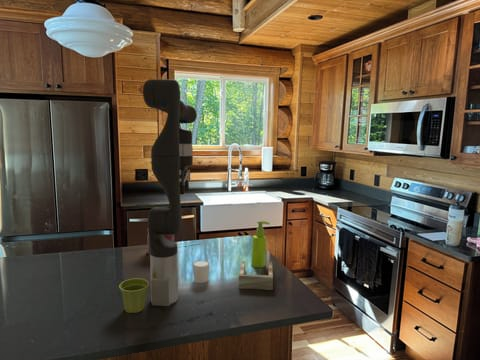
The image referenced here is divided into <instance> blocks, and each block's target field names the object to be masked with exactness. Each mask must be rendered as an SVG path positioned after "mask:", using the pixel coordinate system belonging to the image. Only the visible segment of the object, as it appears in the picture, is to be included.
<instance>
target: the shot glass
mask: <svg viewBox="0 0 480 360" xmlns="http://www.w3.org/2000/svg"><path fill="white" fill-rule="evenodd" d="M210 264H211V263H210V261H208V260H197V261H193V263H192V270H193V271H192V272H193V280H194V283H198V284H204V283H207V282H208V281H209V277H210V275H209V274H210Z"/></svg>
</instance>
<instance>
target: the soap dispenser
mask: <svg viewBox="0 0 480 360" xmlns="http://www.w3.org/2000/svg"><path fill="white" fill-rule="evenodd" d="M256 223H257V224H258V227H257V228H256V231H255V235H253V236H252V248H251V249H252V250H251V251H252V252H251V263H250V264H251V266H252V267H254V268H264V267H265V263H266V251H267V250H266V247H267V236H265V228H263V225H264V224H265V225H270V222H268V221H266V220H265V221H264V220H260V221H259V220H258V221H257V222H256Z"/></svg>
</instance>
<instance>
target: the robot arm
mask: <svg viewBox="0 0 480 360" xmlns="http://www.w3.org/2000/svg"><path fill="white" fill-rule="evenodd" d="M142 98H143V100H144V104H146V106H147V107H148V108H150V109H156V110H159V111H161V112H164V113H165V114H167V116H166V121H165V123H164V126H163V127H162V129H161V131H160V133H159V135H158V136H157V137H156V139H155V141H154V142H153V145H152V147H151V151H150V160H151V163H150V164H151V171H152V173H153V175H154V177H155V179H156V180H157V182H158V183H159V184H160V186H161V188H162V189H163V191H164V192H165V194H166V197H167V199H168V203H169V204H168V205H169V207H163V206H162V207H161V206H154V207H151V208H150V210H149V212H148V215H147V229H148V232H149V247H150V255H149V259H150V260H149V264H150V265H149V266H150V267H149V268H150V269H149V270H150V302H151V305H152V306H158V307H159V306H161V307H170V306H171V305H172V304H174V303H176V302H177V301H178V298H179V294H178V290H179V288H178V244H177V243H176V242H175V241H174V242H172V241H170V240H168V239H166V238H165V237H163V236H162V234H163V235H174V236H176V235H179V234H180V232H181V229H182V225H183V224H182V223H183V221H182V220H183V218H182V204H181V195H185V192H188V191H189V190H190V189H189V187H190V180H191V167H192V166H193V164H194V161H193V159H194V156H193V154H194V152H193V132H192V130H191V129H187V128H183V127H182V125H181V124H194V122H196V120H197V115H198V113H197V111H196V108H195V107H194V106H192V104H191V105H190V104H189V103H185V102H184V101H182V100H181V88H180V84H179V82H178V81H177V79H172V78H170V79H169V78H168V79H166V78H162V79H161V78H152V79H148V80H146V81H145V83H144V84H143V87H142ZM148 232H147V233H148Z"/></svg>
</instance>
